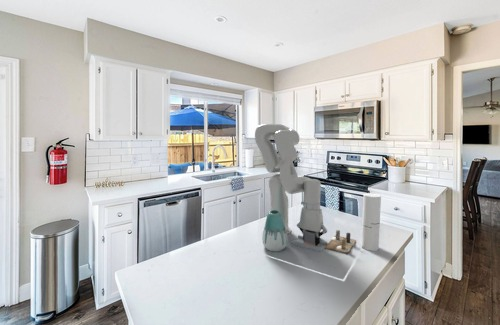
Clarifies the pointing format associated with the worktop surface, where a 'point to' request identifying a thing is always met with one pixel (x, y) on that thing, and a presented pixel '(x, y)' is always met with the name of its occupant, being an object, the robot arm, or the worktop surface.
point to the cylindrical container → (371, 221)
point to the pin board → (334, 244)
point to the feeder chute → (301, 243)
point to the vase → (274, 232)
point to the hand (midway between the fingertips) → (311, 242)
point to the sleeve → (309, 237)
